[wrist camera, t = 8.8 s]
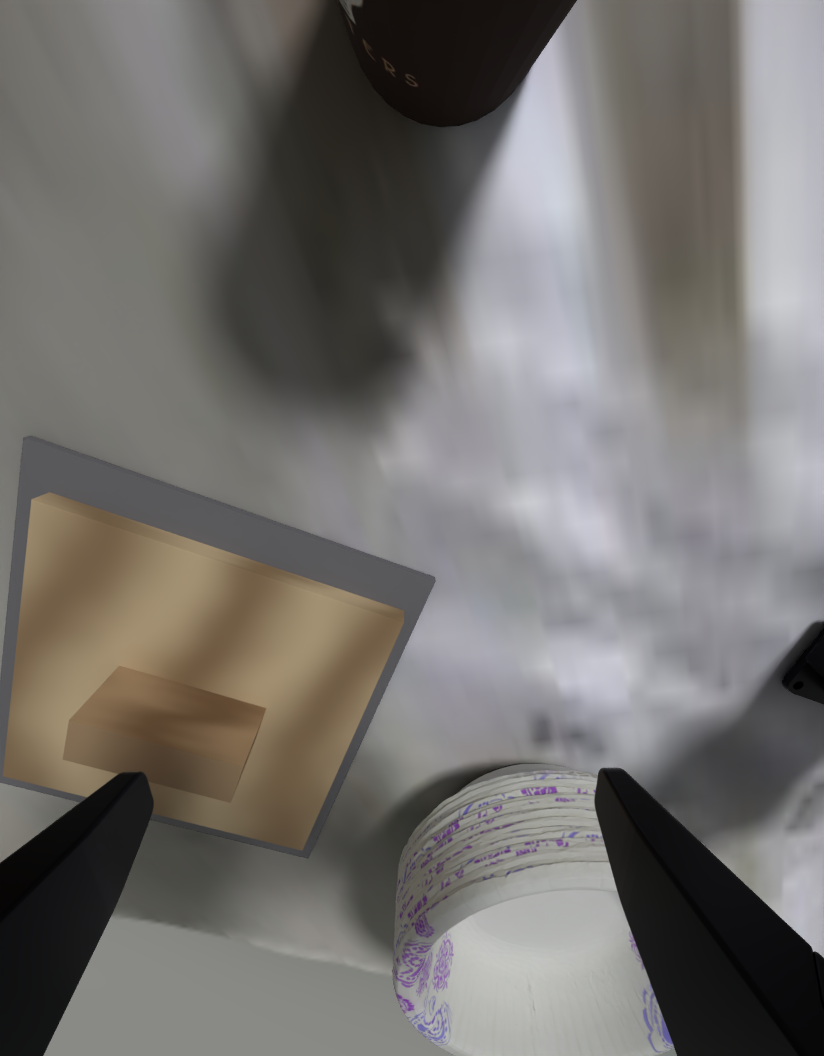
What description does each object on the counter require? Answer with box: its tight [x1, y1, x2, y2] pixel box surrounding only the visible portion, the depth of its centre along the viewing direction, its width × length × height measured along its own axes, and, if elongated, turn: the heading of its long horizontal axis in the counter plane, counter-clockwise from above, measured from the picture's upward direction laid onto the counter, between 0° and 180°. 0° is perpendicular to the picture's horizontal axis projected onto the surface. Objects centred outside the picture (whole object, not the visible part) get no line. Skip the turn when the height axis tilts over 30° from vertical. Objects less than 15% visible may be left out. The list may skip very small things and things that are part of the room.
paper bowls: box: [392, 764, 674, 1056], centre depth 24 cm, size 15×15×8 cm
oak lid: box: [3, 492, 404, 850], centre depth 21 cm, size 16×16×4 cm
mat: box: [0, 436, 435, 858], centre depth 23 cm, size 18×20×1 cm
